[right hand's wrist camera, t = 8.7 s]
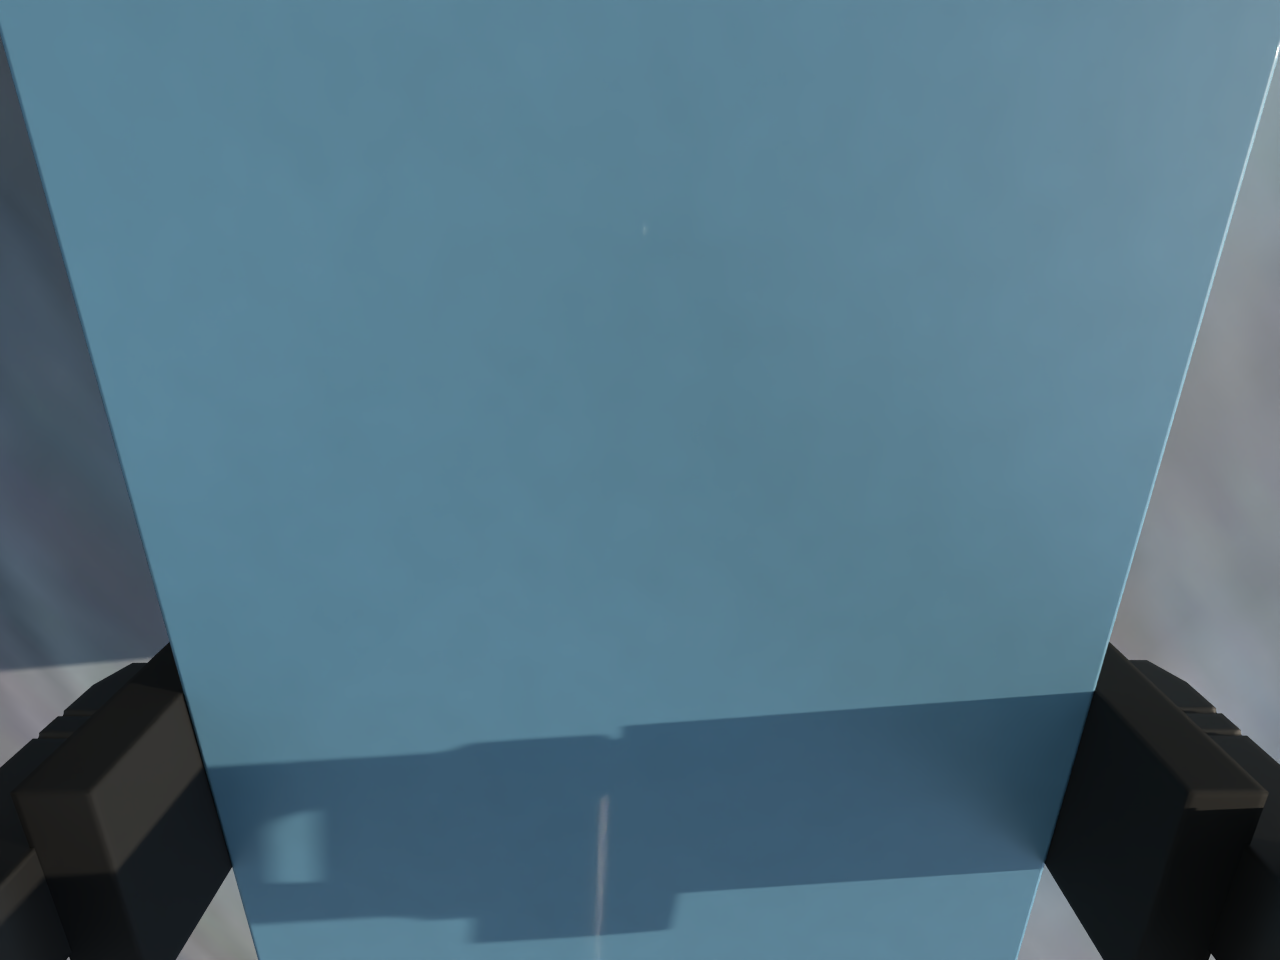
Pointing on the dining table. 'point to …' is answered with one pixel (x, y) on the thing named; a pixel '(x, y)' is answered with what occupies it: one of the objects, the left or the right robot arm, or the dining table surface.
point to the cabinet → (640, 437)
